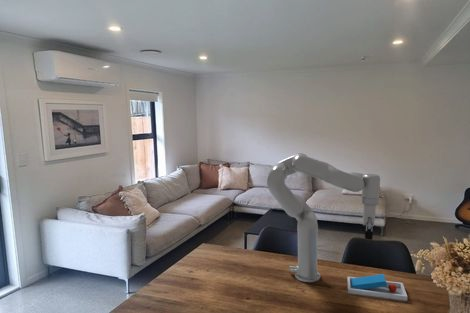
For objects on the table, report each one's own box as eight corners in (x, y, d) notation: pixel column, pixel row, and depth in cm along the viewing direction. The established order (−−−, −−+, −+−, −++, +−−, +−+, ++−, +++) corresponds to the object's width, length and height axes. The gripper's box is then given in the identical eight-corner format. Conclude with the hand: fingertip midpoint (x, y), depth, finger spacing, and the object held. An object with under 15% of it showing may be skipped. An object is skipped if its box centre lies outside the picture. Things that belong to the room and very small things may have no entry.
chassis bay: (348, 294, 149) (348, 289, 149) (347, 281, 160) (347, 276, 160) (407, 301, 142) (407, 296, 141) (402, 287, 153) (402, 282, 153)
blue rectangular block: (356, 300, 151) (398, 295, 145) (352, 285, 151) (394, 279, 145) (355, 292, 157) (396, 287, 152) (351, 278, 157) (392, 272, 151)
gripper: (361, 195, 164) (359, 228, 166) (361, 204, 148) (359, 241, 150) (377, 196, 162) (375, 230, 164) (380, 206, 145) (377, 243, 148)
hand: (368, 235), depth 157 cm, fingers open, 9 cm apart
